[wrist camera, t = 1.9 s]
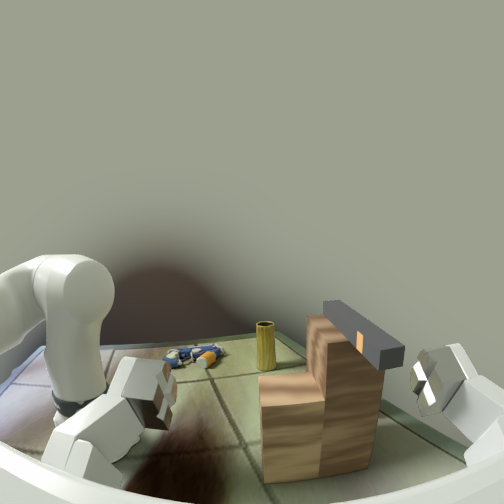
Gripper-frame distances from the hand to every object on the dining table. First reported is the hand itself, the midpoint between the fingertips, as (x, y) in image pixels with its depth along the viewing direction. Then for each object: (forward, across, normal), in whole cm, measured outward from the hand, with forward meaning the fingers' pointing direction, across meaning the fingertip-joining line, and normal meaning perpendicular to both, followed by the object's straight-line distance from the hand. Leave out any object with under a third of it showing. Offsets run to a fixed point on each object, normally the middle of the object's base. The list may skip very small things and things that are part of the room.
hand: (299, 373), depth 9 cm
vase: (+55, -1, -66) cm, 86 cm away
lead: (+24, +11, -22) cm, 35 cm away
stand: (+17, +7, -48) cm, 51 cm away
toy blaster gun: (+60, -25, -69) cm, 95 cm away
